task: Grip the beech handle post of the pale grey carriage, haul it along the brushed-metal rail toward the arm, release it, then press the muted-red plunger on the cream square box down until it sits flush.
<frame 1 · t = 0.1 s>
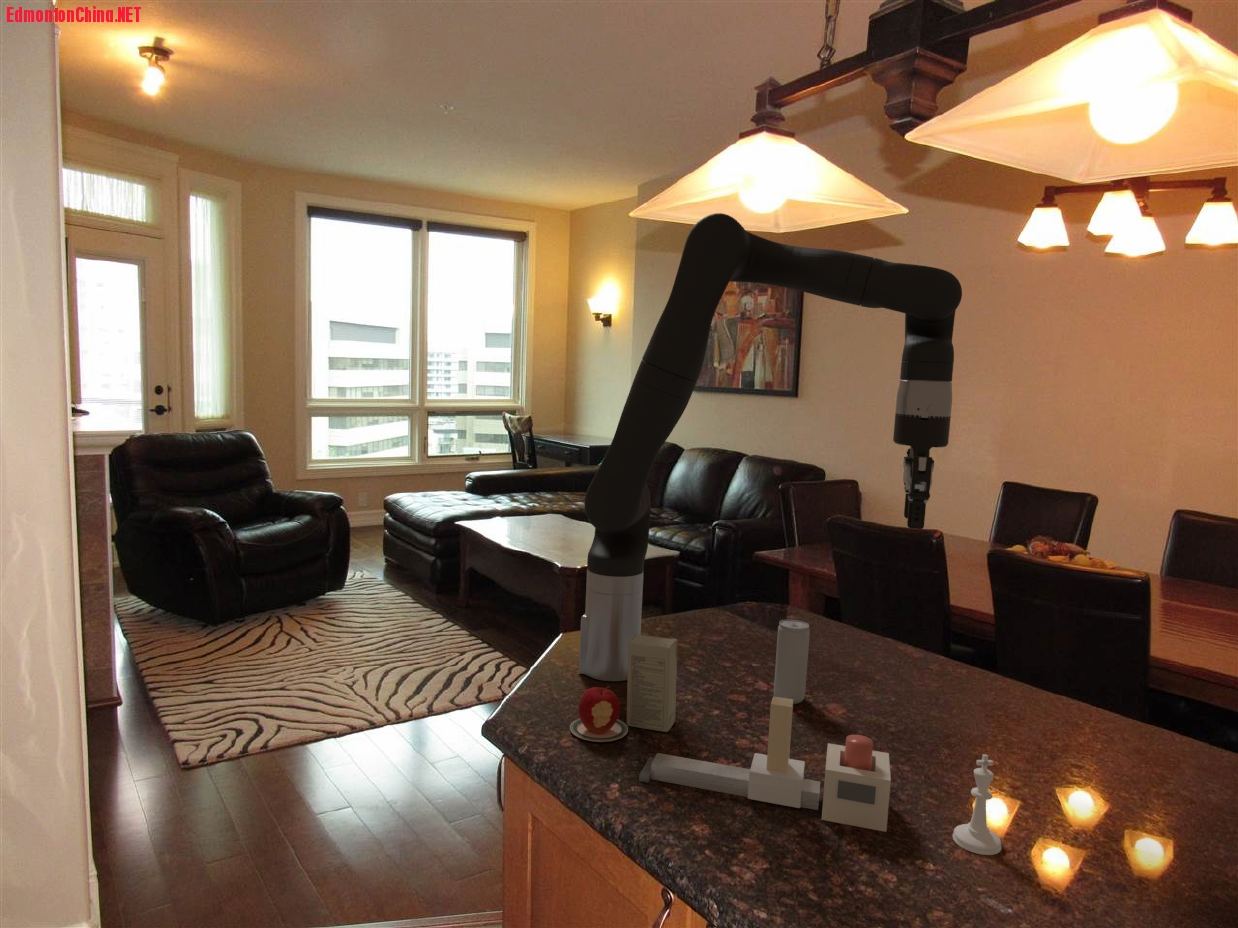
hand: (913, 523, 120), 29 cm above the worktop, fingers open, 8 cm apart
cream square box: (853, 810, 96), on the worktop
beverage can: (788, 699, 128), on the worktop
carriage: (778, 747, 97), point 6 cm above the worktop, slide at 0.0 cm
apple: (598, 733, 114), on the worktop
rail: (733, 788, 99), on the worktop
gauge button: (857, 760, 95), point 6 cm above the worktop, slide at 0.0 cm
skincare box: (649, 724, 117), on the worktop
chess piece: (976, 843, 90), on the worktop
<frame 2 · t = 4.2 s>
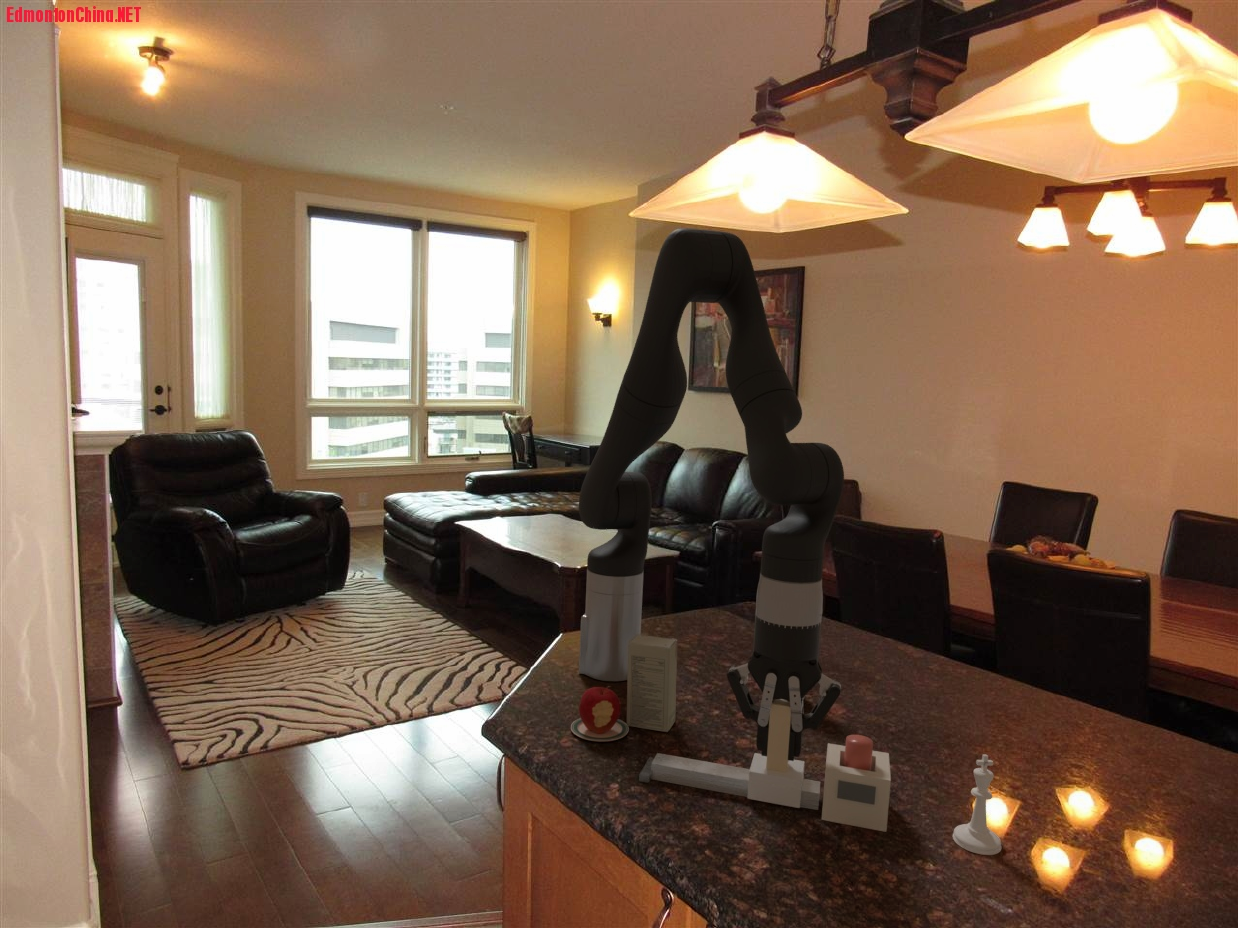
hand: (778, 754, 98), 5 cm above the worktop, fingers closed on carriage, 2 cm apart
carriage: (778, 747, 97), point 6 cm above the worktop, slide at 0.0 cm, touching gripper
everything else where it was.
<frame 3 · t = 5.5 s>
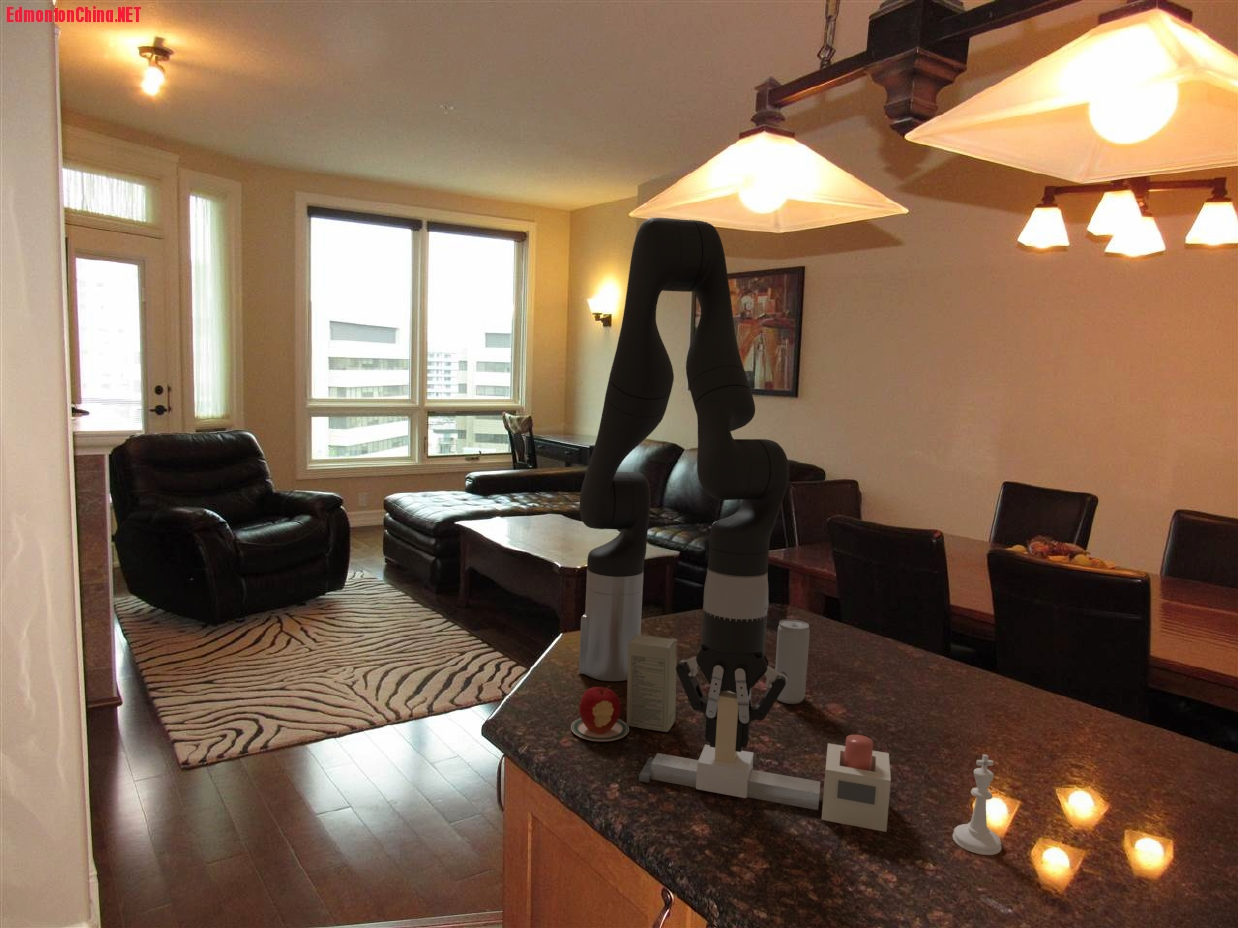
hand: (726, 746, 99), 5 cm above the worktop, fingers closed on carriage, 2 cm apart
carriage: (727, 738, 99), point 6 cm above the worktop, slide at 6.2 cm, touching gripper
everything else where it was.
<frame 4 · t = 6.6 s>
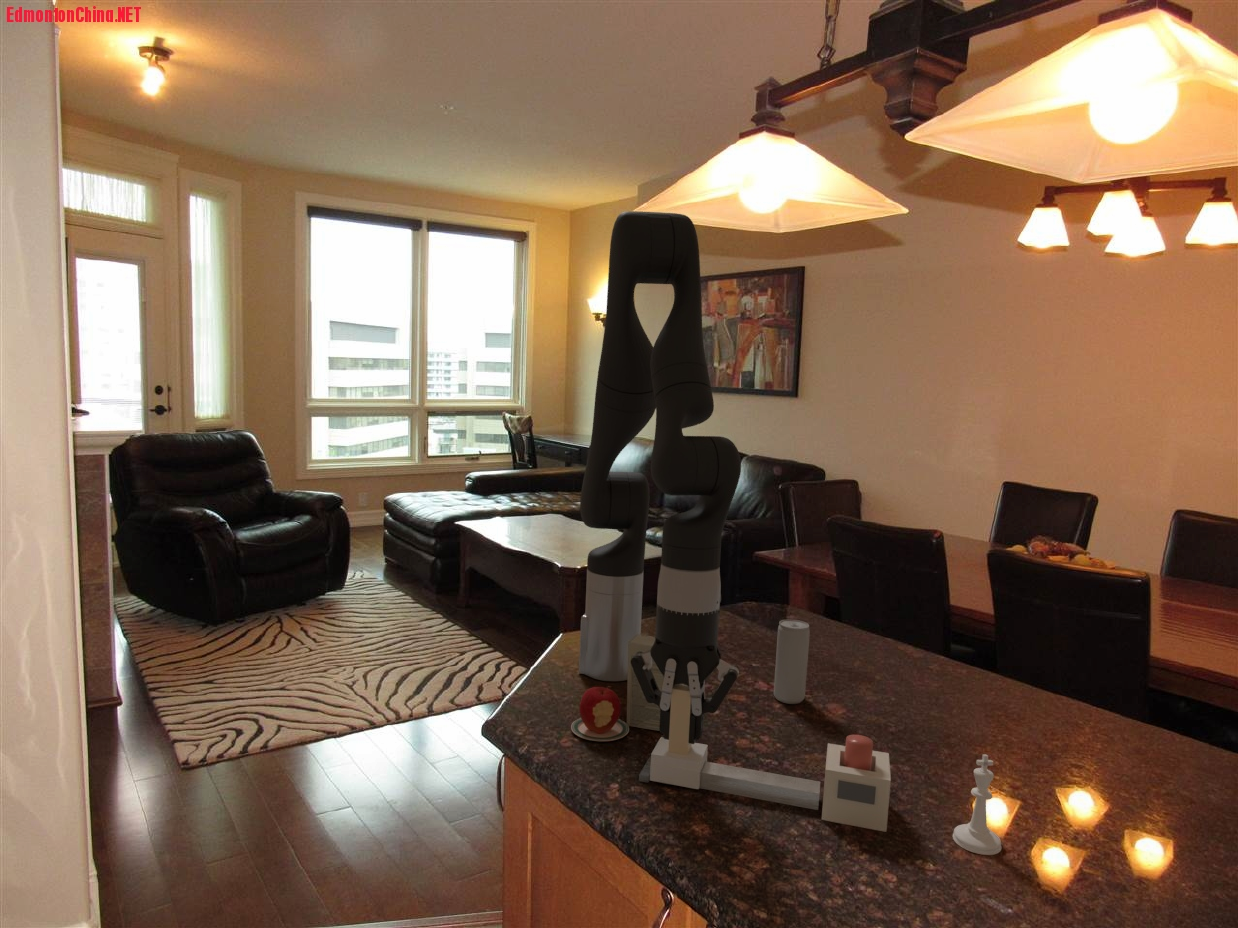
hand: (680, 738, 101), 5 cm above the worktop, fingers closed on carriage, 2 cm apart
carriage: (680, 730, 101), point 6 cm above the worktop, slide at 11.8 cm, touching gripper
everything else where it was.
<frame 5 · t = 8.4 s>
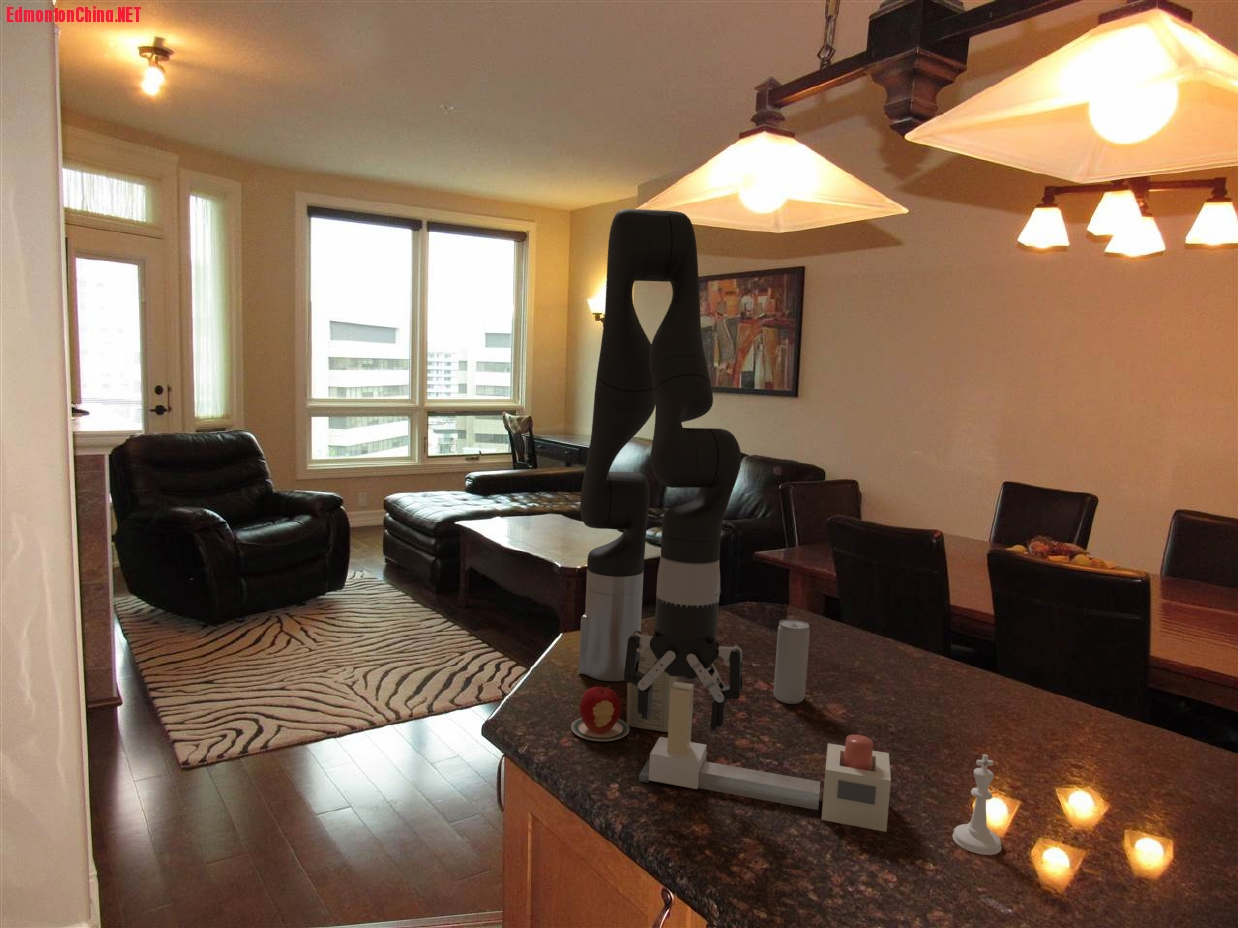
hand: (680, 722, 101), 7 cm above the worktop, fingers open, 8 cm apart
carriage: (679, 730, 101), point 6 cm above the worktop, slide at 12.0 cm
everything else where it was.
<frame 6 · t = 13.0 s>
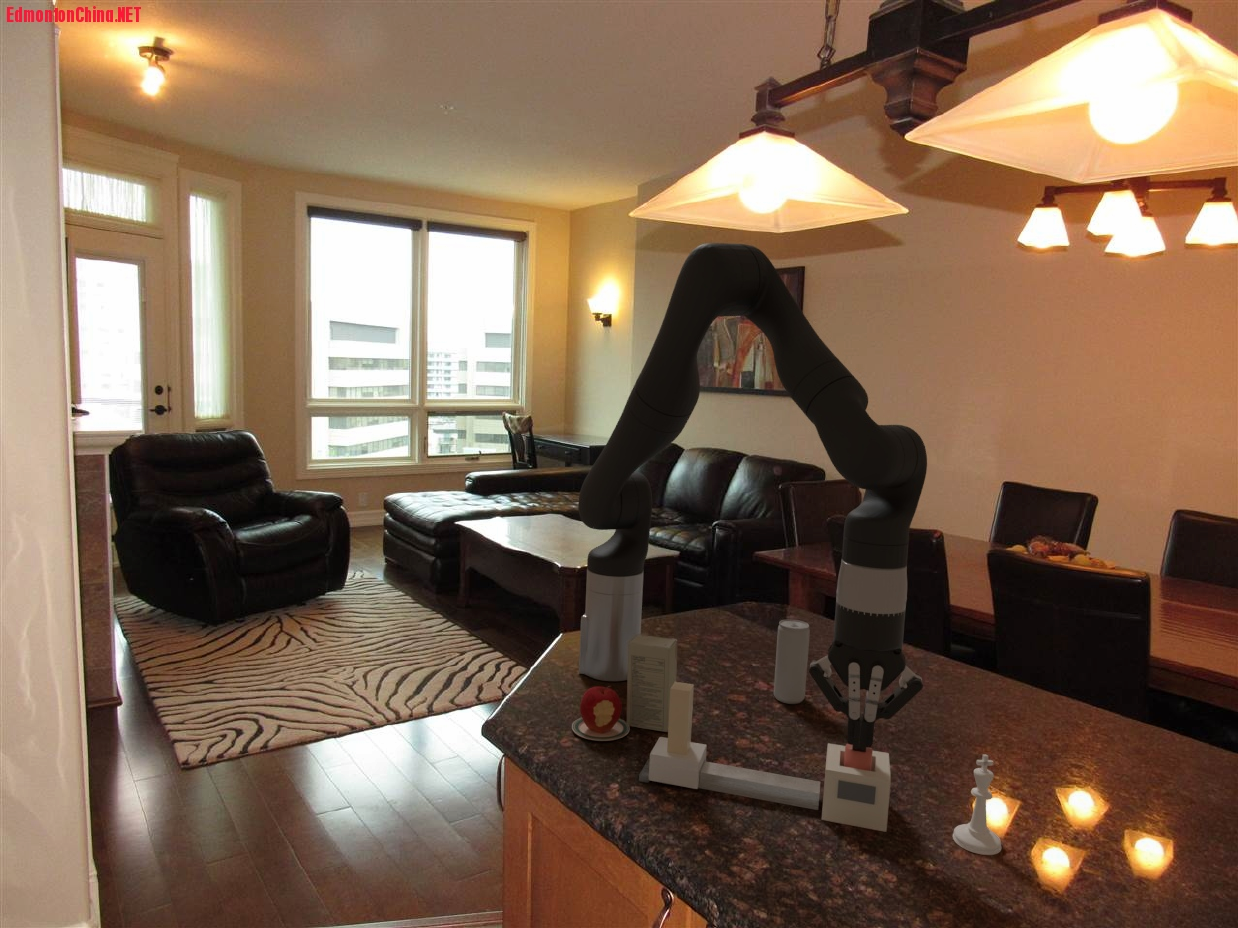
hand: (859, 748, 95), 8 cm above the worktop, fingers closed
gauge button: (857, 768, 95), point 5 cm above the worktop, slide at 0.9 cm, touching gripper
everything else where it was.
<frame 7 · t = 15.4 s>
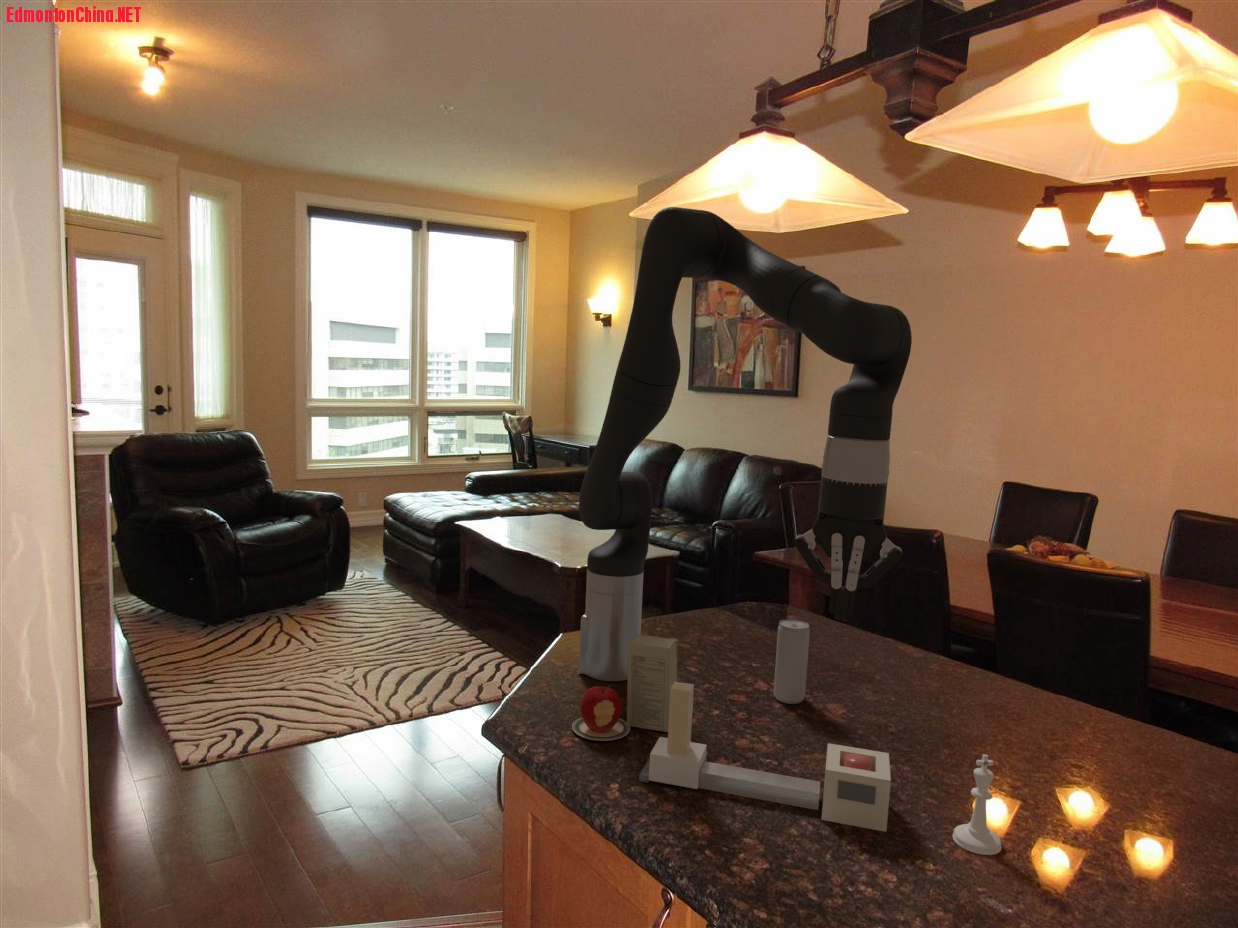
hand: (840, 617, 99), 21 cm above the worktop, fingers closed
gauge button: (856, 780, 95), point 4 cm above the worktop, slide at 2.3 cm
everything else where it was.
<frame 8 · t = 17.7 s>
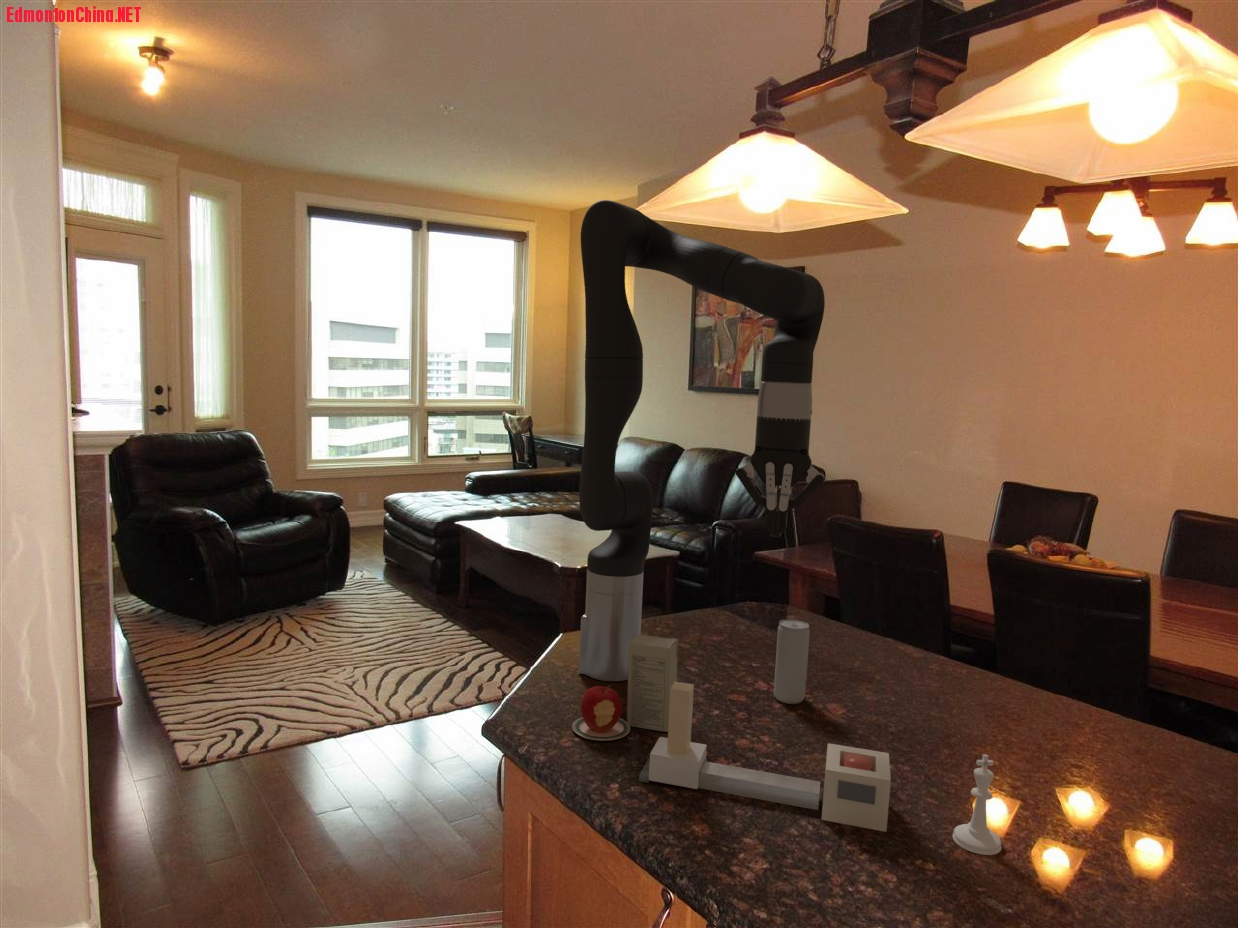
hand: (775, 535, 118), 27 cm above the worktop, fingers closed
nothing on the worktop moved.
at the end: carriage slide at 12.0 cm; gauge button slide at 2.3 cm; the gripper is holding nothing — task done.
